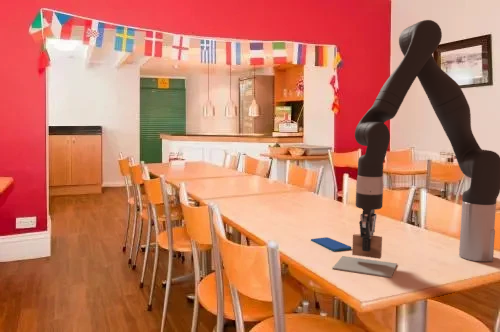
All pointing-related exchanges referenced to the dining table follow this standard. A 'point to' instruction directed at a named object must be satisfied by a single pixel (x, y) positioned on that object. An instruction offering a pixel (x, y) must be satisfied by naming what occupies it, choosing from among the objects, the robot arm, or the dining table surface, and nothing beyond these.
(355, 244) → the wooden toy block
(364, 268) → the mat
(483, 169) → the robot arm
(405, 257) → the dining table surface
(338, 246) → the smartphone
